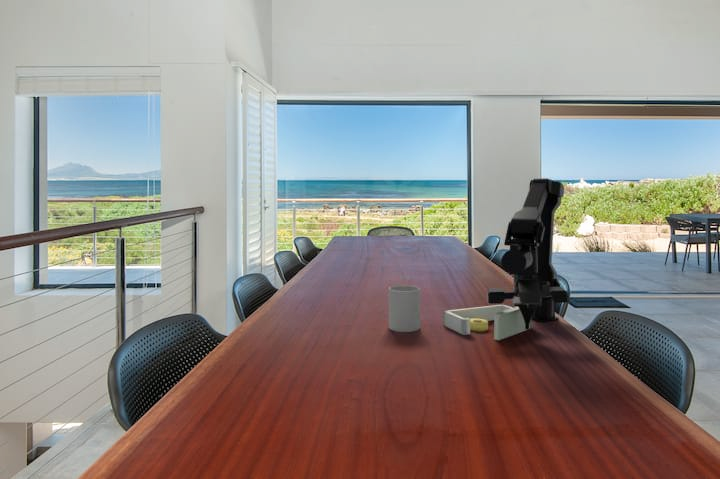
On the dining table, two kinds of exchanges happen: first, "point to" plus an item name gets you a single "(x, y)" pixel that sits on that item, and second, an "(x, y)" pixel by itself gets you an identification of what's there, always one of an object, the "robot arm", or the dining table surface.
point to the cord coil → (478, 324)
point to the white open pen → (470, 317)
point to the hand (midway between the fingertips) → (527, 328)
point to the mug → (404, 308)
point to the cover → (508, 323)
